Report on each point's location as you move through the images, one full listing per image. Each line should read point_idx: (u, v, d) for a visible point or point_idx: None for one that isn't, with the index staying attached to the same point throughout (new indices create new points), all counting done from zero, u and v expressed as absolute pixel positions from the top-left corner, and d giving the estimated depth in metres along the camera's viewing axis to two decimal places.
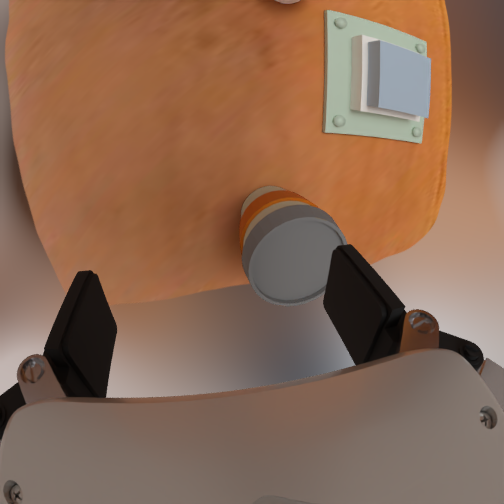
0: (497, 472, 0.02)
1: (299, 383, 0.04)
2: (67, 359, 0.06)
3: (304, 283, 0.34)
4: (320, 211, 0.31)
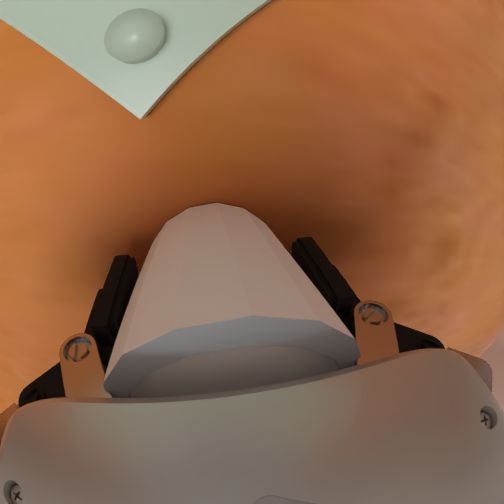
0: (497, 471, 0.02)
1: (299, 383, 0.04)
2: (113, 337, 0.07)
3: None
4: None
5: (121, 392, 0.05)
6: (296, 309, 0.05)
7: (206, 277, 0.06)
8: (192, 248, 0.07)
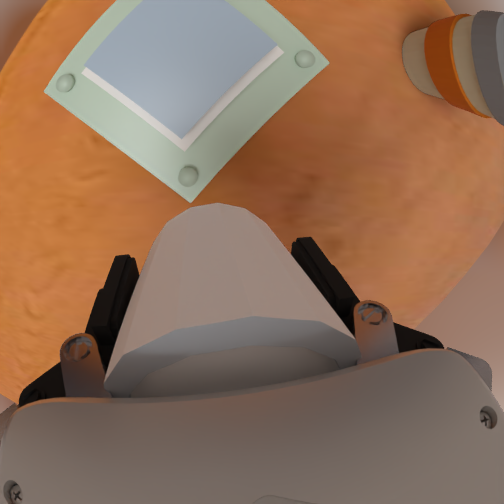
0: (497, 472, 0.02)
1: (299, 383, 0.04)
2: (113, 336, 0.07)
3: None
4: (482, 70, 0.13)
5: (122, 392, 0.05)
6: (297, 309, 0.05)
7: (207, 277, 0.06)
8: (193, 248, 0.07)
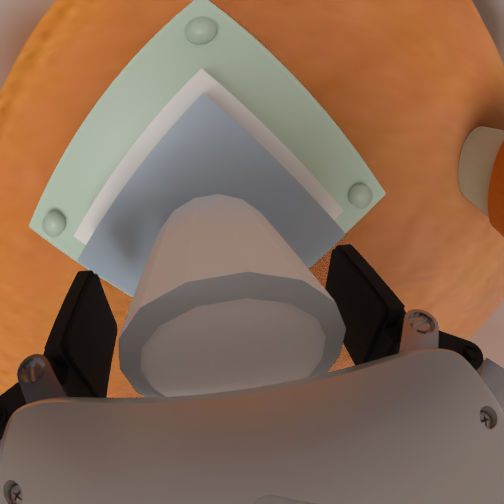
0: (497, 472, 0.02)
1: (299, 383, 0.04)
2: (67, 359, 0.06)
3: None
4: None
5: (134, 347, 0.07)
6: (284, 271, 0.07)
7: (211, 247, 0.07)
8: (198, 228, 0.09)
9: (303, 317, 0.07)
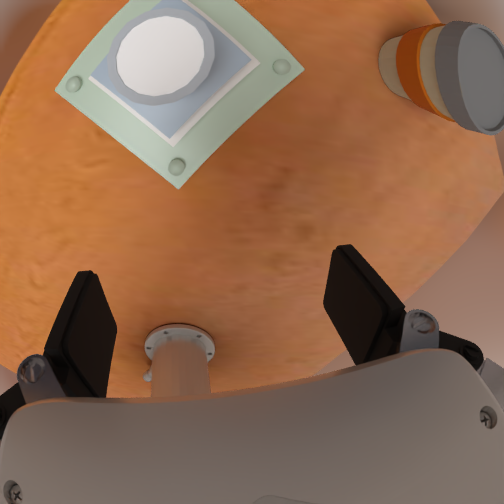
0: (497, 471, 0.02)
1: (299, 383, 0.04)
2: (67, 359, 0.06)
3: (493, 59, 0.14)
4: (443, 79, 0.17)
5: (118, 40, 0.12)
6: None
7: None
8: None
9: (190, 27, 0.13)
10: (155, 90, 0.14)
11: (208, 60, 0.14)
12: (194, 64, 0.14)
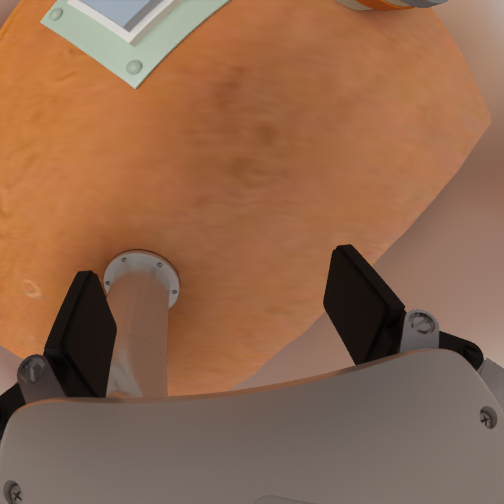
0: (498, 472, 0.02)
1: (299, 383, 0.04)
2: (67, 359, 0.06)
3: None
4: None
5: None
6: None
7: None
8: None
9: None
10: None
11: None
12: None
